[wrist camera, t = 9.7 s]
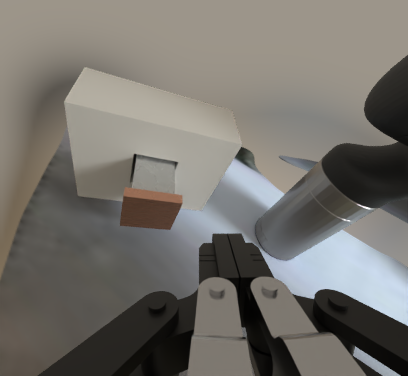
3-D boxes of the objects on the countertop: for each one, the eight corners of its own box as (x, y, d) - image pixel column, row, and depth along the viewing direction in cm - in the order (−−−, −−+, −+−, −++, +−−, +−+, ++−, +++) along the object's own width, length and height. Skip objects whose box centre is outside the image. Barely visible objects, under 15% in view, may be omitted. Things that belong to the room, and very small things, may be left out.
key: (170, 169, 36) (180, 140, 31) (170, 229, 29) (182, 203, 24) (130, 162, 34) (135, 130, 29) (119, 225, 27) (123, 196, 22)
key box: (198, 177, 44) (231, 110, 32) (201, 210, 39) (242, 144, 27) (90, 159, 37) (84, 67, 26) (77, 196, 32) (64, 101, 21)
